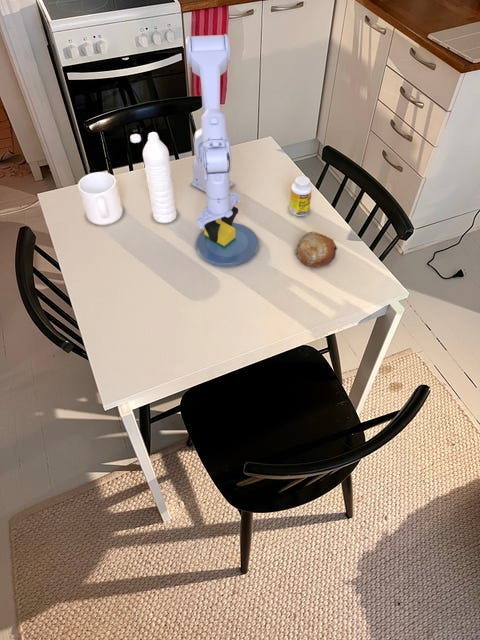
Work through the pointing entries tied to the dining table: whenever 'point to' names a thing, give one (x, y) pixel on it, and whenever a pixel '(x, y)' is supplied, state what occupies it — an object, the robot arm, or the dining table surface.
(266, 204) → the dining table surface
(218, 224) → the robot arm
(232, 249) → the plate
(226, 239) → the sponge
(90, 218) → the mug
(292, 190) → the supplement bottle
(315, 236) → the bread roll
